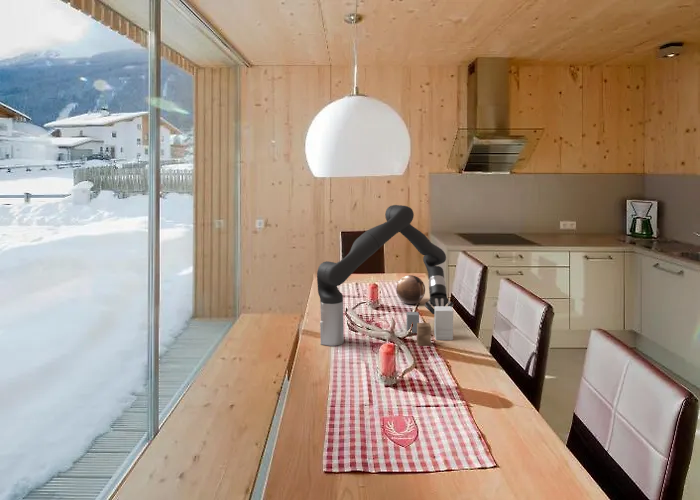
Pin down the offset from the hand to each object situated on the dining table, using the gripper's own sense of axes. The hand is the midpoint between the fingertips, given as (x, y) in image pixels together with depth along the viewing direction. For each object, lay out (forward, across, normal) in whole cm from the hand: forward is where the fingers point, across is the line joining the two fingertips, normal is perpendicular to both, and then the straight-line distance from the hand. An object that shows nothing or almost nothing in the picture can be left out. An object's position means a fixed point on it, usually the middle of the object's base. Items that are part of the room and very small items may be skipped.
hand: (440, 321), depth 228 cm
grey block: (+2, -12, +4) cm, 13 cm away
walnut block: (+14, -9, -8) cm, 19 cm away
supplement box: (+9, 0, -2) cm, 9 cm away
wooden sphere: (-32, -9, +38) cm, 50 cm away
